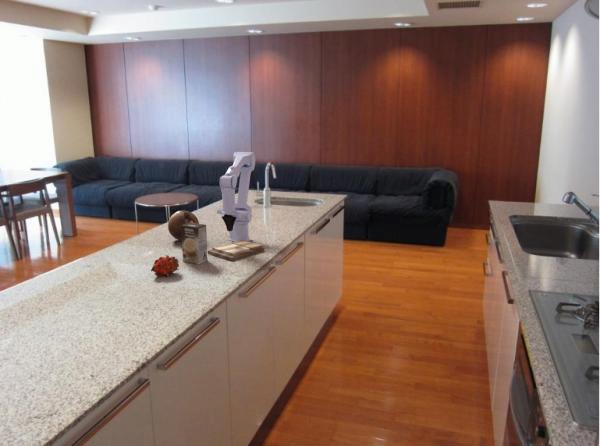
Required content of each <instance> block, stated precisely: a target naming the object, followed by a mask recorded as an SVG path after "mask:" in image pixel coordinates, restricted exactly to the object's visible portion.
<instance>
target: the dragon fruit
mask: <svg viewBox="0 0 600 446" xmlns="http://www.w3.org/2000/svg"><path fill="white" fill-rule="evenodd" d="M179 263H180V262H179V259H177V258H176V256H169V255H167V254H166V255H165V256H159V258H158V259H155V261H154V263H153V265H152V267H151V270H150V272H154V275H155V277H157V276H158V277H163V276H167V277H169V276H171V275H173V274H174V272H177V271H178V270H179V267H180V265H179Z"/></svg>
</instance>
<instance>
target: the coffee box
mask: <svg viewBox="0 0 600 446" xmlns="http://www.w3.org/2000/svg"><path fill="white" fill-rule="evenodd" d="M181 234H182V241H181V249H182V252H181V253H182V262H185V263H191V264H196V265H200V264H202V263H205V262H207V261H208V240H207V239H208V237H207V235H208V234H207V224H204V223H203V224H202V223H199V224H197V223H190V222H189V223H187V224H184V225H181Z"/></svg>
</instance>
